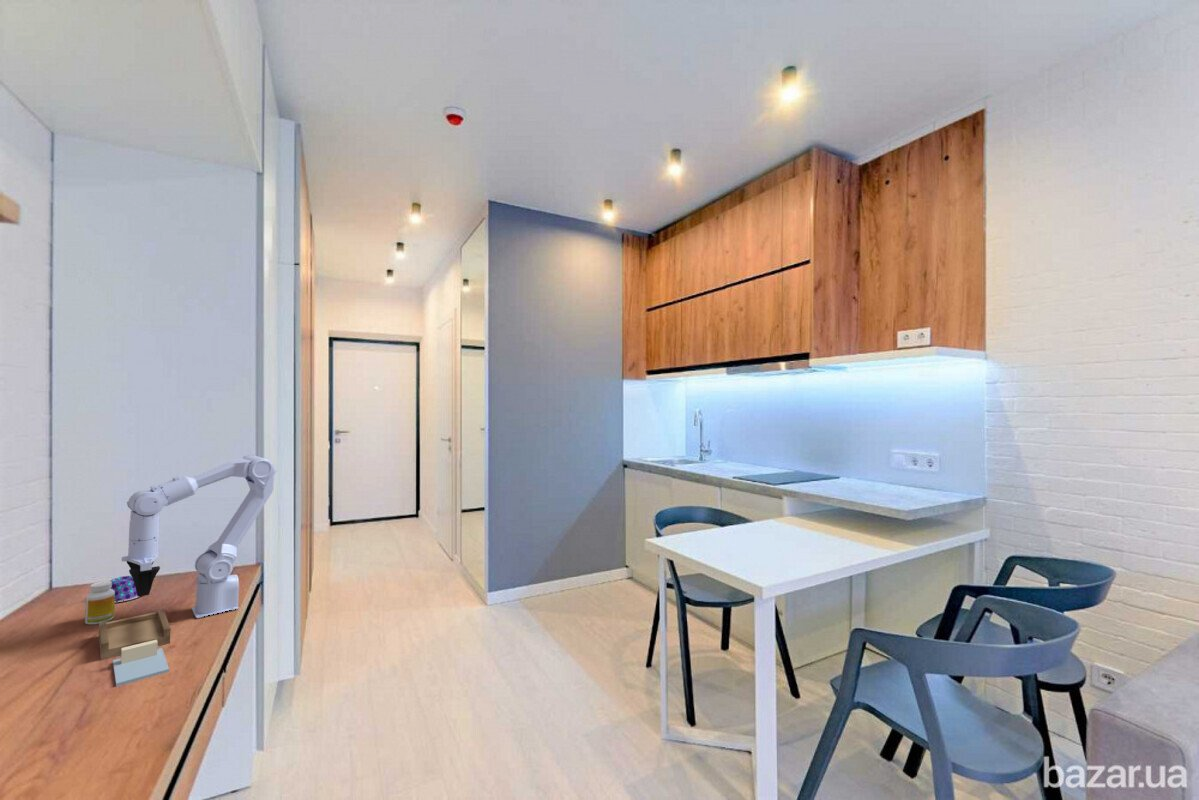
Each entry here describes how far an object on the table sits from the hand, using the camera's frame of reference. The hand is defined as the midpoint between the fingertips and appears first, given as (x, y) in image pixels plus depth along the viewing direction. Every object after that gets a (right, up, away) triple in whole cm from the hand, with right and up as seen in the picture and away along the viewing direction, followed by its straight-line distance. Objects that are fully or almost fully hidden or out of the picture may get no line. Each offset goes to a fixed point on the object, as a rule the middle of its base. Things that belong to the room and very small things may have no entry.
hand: (141, 590), depth 128 cm
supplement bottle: (-14, -9, +3) cm, 17 cm away
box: (+3, -10, -5) cm, 12 cm away
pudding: (-22, -9, +18) cm, 30 cm away
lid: (+14, -12, -16) cm, 24 cm away
